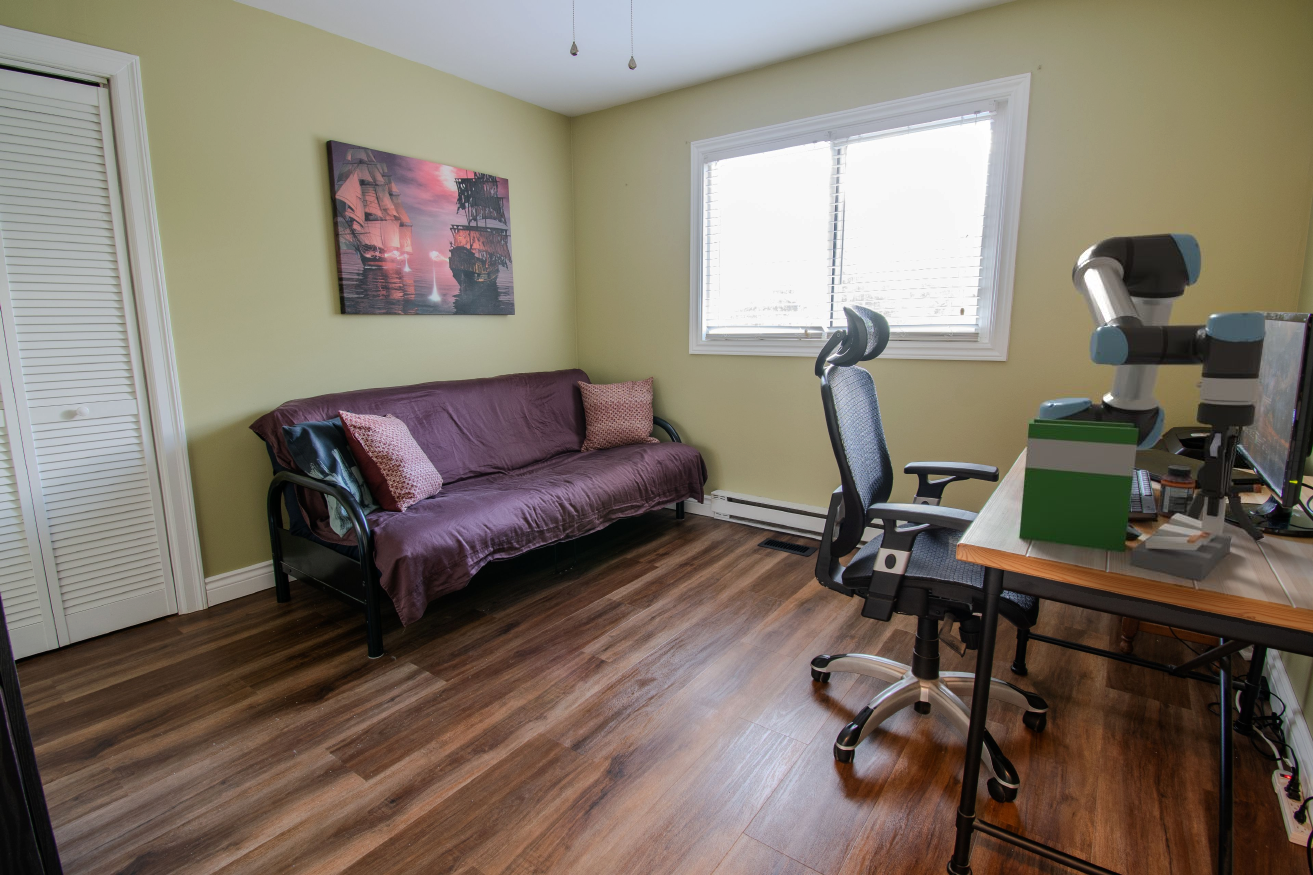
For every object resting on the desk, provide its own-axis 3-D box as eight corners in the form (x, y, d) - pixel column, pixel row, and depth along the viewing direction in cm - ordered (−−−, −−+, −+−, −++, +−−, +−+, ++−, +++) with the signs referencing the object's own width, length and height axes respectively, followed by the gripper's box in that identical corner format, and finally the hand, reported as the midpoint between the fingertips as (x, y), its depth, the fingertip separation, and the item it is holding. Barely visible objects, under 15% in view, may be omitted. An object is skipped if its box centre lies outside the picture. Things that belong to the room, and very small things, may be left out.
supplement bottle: (1159, 510, 149) (1165, 463, 147) (1192, 515, 145) (1198, 466, 143) (1155, 516, 145) (1161, 467, 143) (1188, 521, 140) (1195, 471, 138)
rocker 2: (1175, 518, 127) (1178, 510, 127) (1218, 533, 122) (1222, 525, 122) (1168, 522, 124) (1172, 515, 124) (1213, 538, 119) (1217, 530, 119)
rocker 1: (1153, 542, 118) (1152, 533, 118) (1201, 544, 112) (1200, 534, 112) (1146, 547, 115) (1144, 538, 115) (1195, 550, 110) (1194, 540, 110)
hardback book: (1120, 540, 129) (1133, 423, 125) (1124, 552, 123) (1138, 429, 119) (1020, 528, 138) (1029, 418, 134) (1019, 538, 132) (1029, 423, 127)
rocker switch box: (1171, 533, 133) (1173, 519, 132) (1235, 545, 125) (1237, 530, 125) (1130, 564, 116) (1132, 549, 116) (1200, 581, 109) (1203, 564, 108)
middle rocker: (1164, 529, 123) (1165, 520, 122) (1211, 539, 117) (1212, 530, 117) (1157, 534, 120) (1158, 525, 120) (1205, 544, 115) (1206, 535, 114)
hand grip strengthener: (1263, 543, 126) (1275, 469, 123) (1181, 531, 134) (1190, 462, 131) (1262, 540, 128) (1273, 467, 125) (1181, 529, 135) (1190, 460, 133)
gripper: (1207, 398, 119) (1194, 520, 122) (1189, 403, 110) (1175, 535, 114) (1262, 400, 113) (1246, 529, 116) (1247, 406, 105) (1231, 545, 108)
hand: (1211, 532), depth 115 cm, fingers closed
